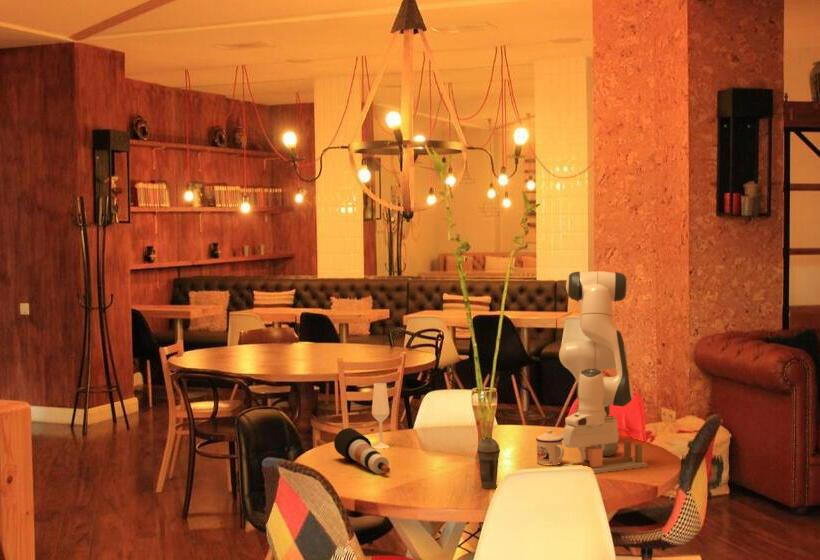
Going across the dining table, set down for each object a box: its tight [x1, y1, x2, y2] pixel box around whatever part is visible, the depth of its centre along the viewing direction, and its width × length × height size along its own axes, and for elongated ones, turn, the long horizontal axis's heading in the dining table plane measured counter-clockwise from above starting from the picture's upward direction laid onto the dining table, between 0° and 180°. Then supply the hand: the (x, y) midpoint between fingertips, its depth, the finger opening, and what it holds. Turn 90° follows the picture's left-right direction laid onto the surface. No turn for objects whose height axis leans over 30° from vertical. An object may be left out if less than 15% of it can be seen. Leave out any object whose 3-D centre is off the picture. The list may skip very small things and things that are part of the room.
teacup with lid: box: [535, 429, 565, 466], centre depth 363 cm, size 12×9×12 cm
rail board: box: [562, 440, 648, 474], centre depth 356 cm, size 12×26×7 cm, turn 115°
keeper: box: [580, 446, 604, 467], centre depth 354 cm, size 7×4×6 cm, turn 25°
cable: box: [333, 427, 391, 475], centre depth 362 cm, size 10×34×10 cm, turn 27°
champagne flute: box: [371, 382, 391, 450], centre depth 395 cm, size 7×7×24 cm
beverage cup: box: [476, 424, 501, 490], centre depth 331 cm, size 7×7×20 cm
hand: (591, 458), depth 354 cm, fingers closed on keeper, 4 cm apart
